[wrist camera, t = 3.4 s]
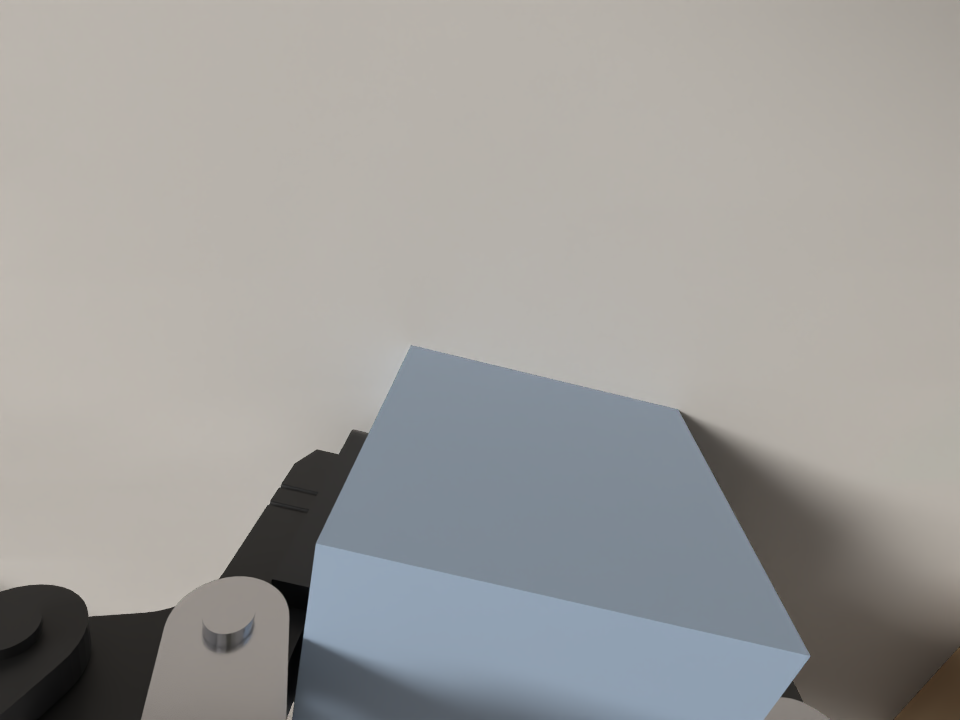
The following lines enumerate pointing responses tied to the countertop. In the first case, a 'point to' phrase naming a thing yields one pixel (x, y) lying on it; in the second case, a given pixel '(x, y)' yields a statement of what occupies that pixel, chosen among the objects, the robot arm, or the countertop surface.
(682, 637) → the slate block
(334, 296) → the countertop surface
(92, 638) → the robot arm
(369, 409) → the countertop surface
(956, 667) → the oak block
